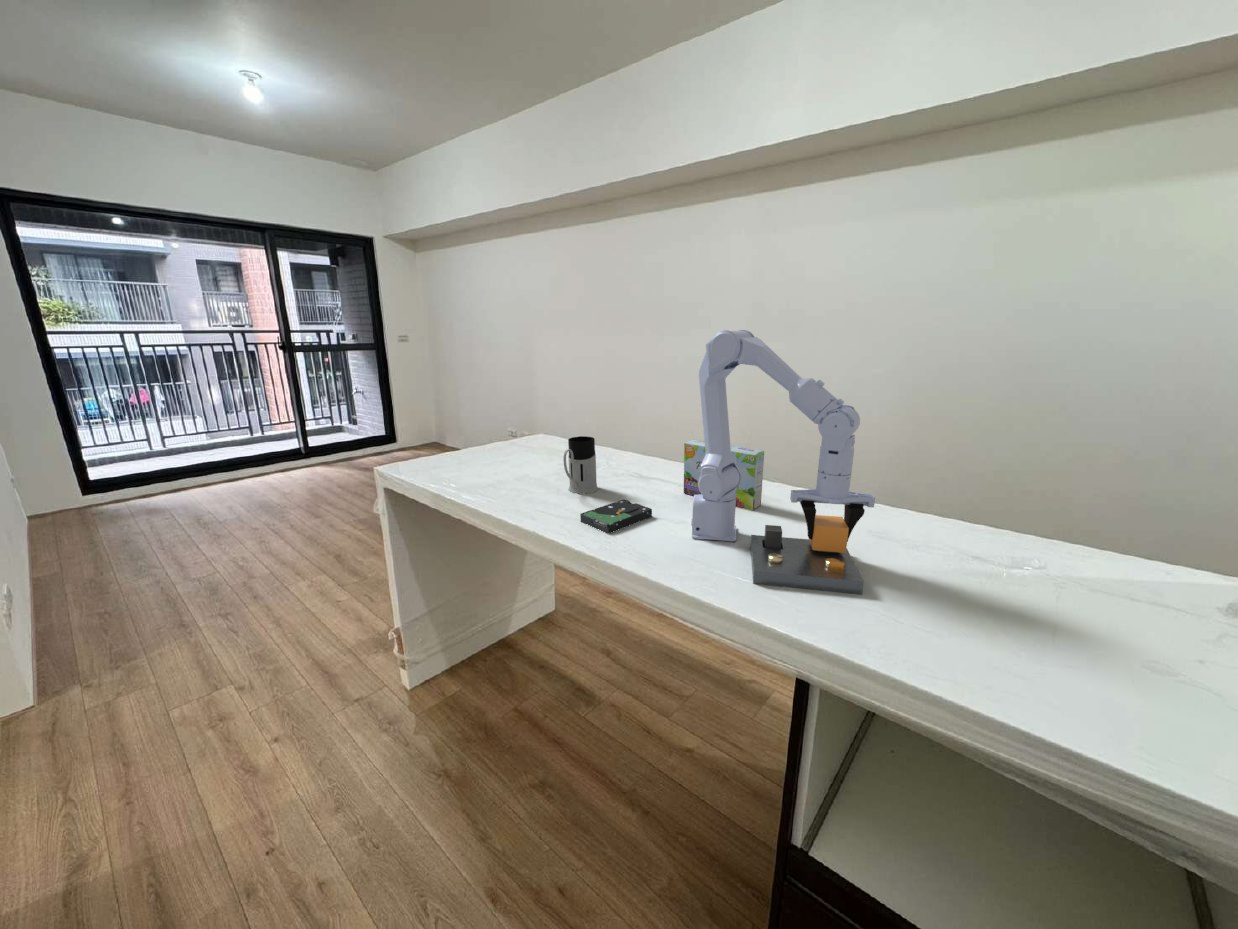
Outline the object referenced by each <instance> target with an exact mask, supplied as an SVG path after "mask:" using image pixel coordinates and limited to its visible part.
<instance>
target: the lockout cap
mask: <svg viewBox="0 0 1238 929" xmlns="http://www.w3.org/2000/svg"><path fill="white" fill-rule="evenodd" d="M848 531H849V528H848V526H847V524H846V523H845V521H844V516H835V515H834V516H833V515H820V514H819V515H818V514H816V515H815V521H814V531H813V537H812V539H809V538H808V539H809V541H810V543H811V546H812V549H813V550H816V551H828V552H840V553H846V548H847V546H848V542H847V539H848ZM848 540H849V539H848Z"/></svg>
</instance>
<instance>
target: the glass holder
mask: <svg viewBox="0 0 1238 929" xmlns="http://www.w3.org/2000/svg"><path fill="white" fill-rule="evenodd" d="M567 455H568V458H567ZM596 455H597V454H596V443H595V438H594V437H593V436H581V435H580V436H574V437H569V438H568V448H567V449H566V450H565V451H564V454H563V467H564V470H565V474H566V476H567V477H568V479H569V487H568V492H569V491H570V493H571V492H572V494H575V493H582V494H581V495H584V494H583V493H588V494H592V493H594V492H597V491H598V490H599V487H598V484H597V457H596ZM567 459H568V467H567Z"/></svg>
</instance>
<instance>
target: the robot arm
mask: <svg viewBox="0 0 1238 929" xmlns="http://www.w3.org/2000/svg"><path fill="white" fill-rule="evenodd" d="M739 365H745V366H746V365H748V366H754V367H758V368H759V369H760V370H761V371H762V372H764V373H765V374H766V375H767V376H769V377H770V379H771V378H772V379H773V381H775V382H776V383H778V384H779V385H780V386H781V387H783V389H785V390H786V391H788V397H789V402H790V403H791V404H792V405H793V406H794V407H796V408H797V409H798V410H799V411H800V412H801V413H802V414H803V415H805V416H806V417H807V418H808V419H809V420H810V421H811V422H813V423H814V424H817V426H818V427H817V428H818V431H819V434H820V436H821V444H820V450H819V455H818V456H819V459H818V468H817V477H816V485H815V487H816V488H814V489H813V488H812V489H797V490H796V489H791V490H790V496H789V497H790V502H791V503H793V504H794V503H799V504H800V506H801V508H802V511H803V515H804V518H805V521H806V528H807V537H808V538H807V539H812V537H813V531H814V521H815V515H817V514H816V513H817V508H816V504H830V505H844V509H843V511H844V512H843V513H844V514H843V519H844V521H845V523H846V524H847V526H848V528H849V531H848V539H847V543H848V541H849V538H850V536H851V534H852V532H853V530H854V528H855V526H856V525H857V523H858V522H859V521H860V520H861V518H862V517H864V515H865V513H866V512H865V511H866V510H865V508H864V507H867V508H874V507H875V504H876V503H875V502H876V496H874V494H872V493H870V494H869V493H861V492H853V491H850V487H851V482H852V481H851V479H852V473H853V472H852V471H853V465H854V464H853V461H854V454H855V447H854V446H855V443H856V439H855V438H856V435H855V434H854V433H855V432H857V431H858V429H859V427H860V424H861V418H860V415H859V413H858V411H857V410H856V409H855V407H854V406H852V405H849V404H845V401H844V400H843V399H842V398H839V399H838V398H837V397H835V396H834V395H833V394H832V393H831V392H830V391H828V390H827V389H826V388H825V387H823V386H824V385H825V382H823V381H822V380H821V379H817V380H815V378H813V377H806V378H802V377H801V376H800V375H799V374H798V373H797V372H796V371H795V370H794V369H793V368H792V367H791V366H789V365H788V364H787V363H786V361H784V360H783V359H782V358H781V357H780V356H779V355H778V354H777V353H775V351H773V349H772V348H770V346H768V345H767V344H766V343H765V342H764V341H763V340H762V339H761V338H760V337H759V338H758V337H757V336H756V337H755V335H754V334H753V333H752V332H751V331H749V330H746V329H739V330H728V329H723V330H720V331H718V332H716V333H715V334H714V335H713V336H712V337H711V338H710V339H709V340H708V341H707V342H706V343H705V354H704V356H703V358H702V362H701V364H700V367H699V370H698V381H699V384H698V385H699V393H700V407H701V417H702V425H703V426H702V427H703V438H704V440H703V441H705V452H706V455H705V457H704V459H703V462H702V464H701V466H700V469H701V474H700V477H699V479H698V488H699V491H700V493H701V494H699V495H694V496H693V500H692V518H691V538H692V539H698V540H699V539H702V540H710V541H711V540H712V541H714V540H715V541H726V542H736V541H737V526H736V525H735V524H736V508H737V507H736V492H735V491H736V487H738V486H739V484H740V482H741V478H742V477H741V472H740V470H739V468H738V466H737V463H736V457H735V456H734V455H733V454H732V452H731V447H730V445H731V436H730V423H729V412H728V411H729V410H728V396H727V384H726V379H727V377H729V375H730V374H731V373H732V372H733V371H734V370H735V369H736V368H737V367H738V366H739Z"/></svg>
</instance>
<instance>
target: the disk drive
mask: <svg viewBox="0 0 1238 929" xmlns="http://www.w3.org/2000/svg"><path fill="white" fill-rule="evenodd" d="M652 517H653V510H652V508H651V507H647V506H645V505H642V504H640V503H632V502H631V500H627V499H626V498H624V499H621V500H617V501H615V502H612V503H608V504H606V505H603V506H600V507H599V506H598V507H596V508H594V509H590V510H587V511H584V512H582V513H580V523H582V524H585V525H586V524H588V525H587V526H589V525H590V526H589V527H591V526H592V527H591V528H593V527H594V528H593V529H595V528H596V529H595V530H598V529H599V530H598V531H600V530H601V531H600V532H602V531H603V532H602V533H604V532H605V534H607V535H608V533H609V534H611V532H612V533H614V532H613V531H615V532H617V531H619V530H622V529H624V527H625V528H627V527H630V526H632V525H635V524H637V523H640V522H642V521H645V519H646V520H648V519H650V518H652ZM629 525H630V526H629ZM618 529H619V530H618ZM616 530H617V531H616Z"/></svg>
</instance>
